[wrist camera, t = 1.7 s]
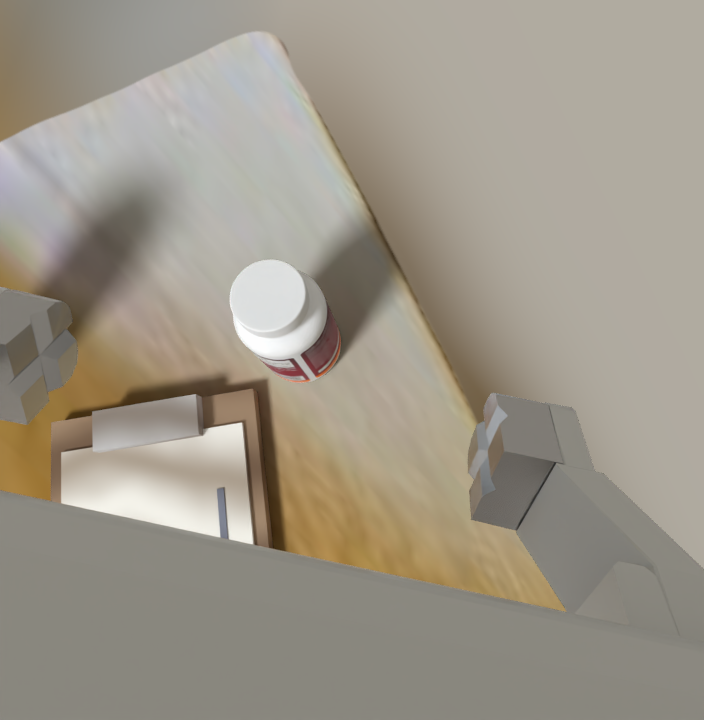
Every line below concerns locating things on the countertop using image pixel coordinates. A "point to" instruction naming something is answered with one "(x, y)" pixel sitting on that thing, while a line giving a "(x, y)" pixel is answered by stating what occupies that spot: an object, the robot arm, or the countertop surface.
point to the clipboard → (169, 464)
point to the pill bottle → (285, 320)
